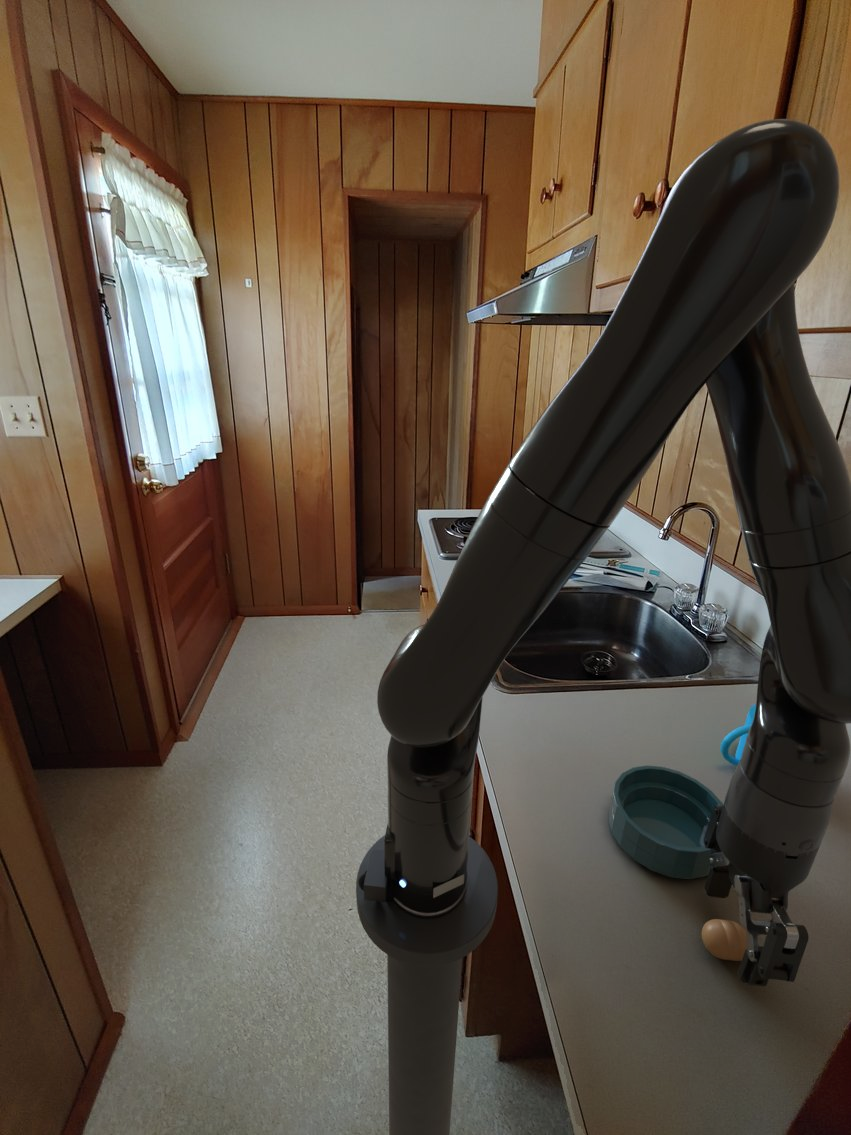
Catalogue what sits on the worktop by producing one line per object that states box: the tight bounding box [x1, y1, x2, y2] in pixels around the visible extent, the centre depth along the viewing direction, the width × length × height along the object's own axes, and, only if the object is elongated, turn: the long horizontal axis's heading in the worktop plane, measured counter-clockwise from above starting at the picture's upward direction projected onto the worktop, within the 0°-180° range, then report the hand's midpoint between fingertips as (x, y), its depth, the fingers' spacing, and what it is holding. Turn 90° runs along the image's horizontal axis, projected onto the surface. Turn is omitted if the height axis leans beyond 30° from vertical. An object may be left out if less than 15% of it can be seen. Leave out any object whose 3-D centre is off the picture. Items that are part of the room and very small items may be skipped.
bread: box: [701, 918, 747, 962], centre depth 56 cm, size 5×3×3 cm
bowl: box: [607, 765, 724, 880], centre depth 68 cm, size 13×13×5 cm
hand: (731, 934), depth 55 cm, fingers open, 8 cm apart
